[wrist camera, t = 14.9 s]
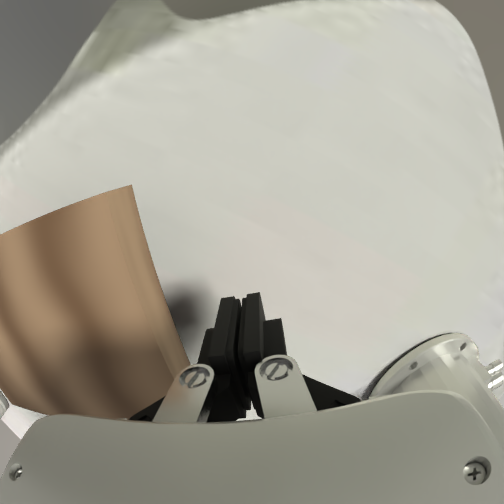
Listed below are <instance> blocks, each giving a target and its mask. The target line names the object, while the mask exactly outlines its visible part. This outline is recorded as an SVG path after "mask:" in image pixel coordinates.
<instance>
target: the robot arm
mask: <svg viewBox="0 0 504 504" xmlns="http://www.w3.org/2000/svg"><path fill="white" fill-rule="evenodd" d="M502 368H503V365H502V362H501V360H496V361H494V362H492V363H491V364H489V365H488V366H486V367H485V366H483V365H482V364H481V363H480V361H479V351H478V347H477V346H476V344H475V343H474V342H473V341H472V340H471V339H470V338H469V337H468V336H467V335H464V334H461V333H451V334H446V335H442V336H439V337H437V338H434V339H431V340H429V341H427V342H426V343H424V344H422V345H420V346H418V347H417V348H415V349H414V350H412V351H411V352H409V353H408V354H406V355H405V356H404V357H403V358H401V359H400V360H399V361H398V362H397V363H395V364H394V365H393V366H392V367H391V368H390V369H389V370H388V371H387V372H386V373H385V375H384V376H383V377H382V378H381V379H380V380H379V382H378V383H377V385H376V386H375V388H374V389H373V391H372V393H371V395H370V397H369V400H360V399H359V398H357V397H355V396H353V395H351V394H348V393H346V392H343V391H340V390H338V389H336V388H333V387H331V386H328V385H326V384H323V383H321V382H319V381H316V380H314V379H312V378H309V377H307V376H305V375H303V374H301V371H300V369H299V366H298V364H297V362H296V361H295V359H293V358H292V357H290V356H287V352H286V345H285V338H284V332H283V326H282V320H281V318H280V319H274V320H267V321H266V320H265V315H264V310H263V306H262V301H261V296H260V292H258V293H252V294H247V298H243V299H242V307H241V303H240V300H239V299H235V297H234V296H233V297H226V298H221V301H220V306H219V310H218V314H217V318H216V323H215V327H214V328H210V329H207V330H206V332H205V336H204V340H203V344H202V348H201V351H200V355H199V359H198V363H197V364H194V365H190V366H188V367H186V368H184V369H182V370H181V371H180V372H179V373H178V374H177V376H176V377H175V379H174V381H173V383H172V385H171V387H170V389H169V391H168V392H167V394H166V396H164V397H163V398H161V399H159V400H158V401H156V402H155V403H153V404H151V405H150V406H148V407H146V408H145V409H143V410H141V411H139V412H138V413H136V414H134V415H133V416H132V417H130V418H129V420H127V419H126V418H120V419H113V418H104V417H96V416H87V415H79V414H56V415H50V416H46V417H43V418H40V419H38V420H37V421H36V422H34V423H33V424H32V426H31V427H30V428H29V429H28V431H27V432H26V433H25V435H24V436H23V438H22V439H21V441H20V443H19V444H18V446H17V448H16V449H15V451H14V453H13V455H12V457H11V458H10V460H9V462H8V464H7V466H6V468H5V471H4V472H3V474H2V477H1V479H0V504H504V408H503V407H502V405H501V404H500V402H499V401H498V399H497V398H496V397H495V395H494V394H493V392H492V391H493V390H495V389H496V388H498V387H500V386H501V385H502V384H503V380H504V379H503V374H502V373H501V370H502ZM251 401H252V404H253V407H254V409H256V412H257V415H258V416H259V417H261V418H262V419H256V420H245V421H236V420H237V419H239V418H246V410H251Z"/></svg>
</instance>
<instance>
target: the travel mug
mask: <svg viewBox="0 0 504 504" xmlns="http://www.w3.org/2000/svg"><path fill="white" fill-rule="evenodd" d="M8 408H9V404H8V402H7V400H6V398H5V397H4V395H3V394H2V393H1V392H0V419H1V417H2V416H3V415H4V412H6V410H7V409H8Z"/></svg>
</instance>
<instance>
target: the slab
mask: <svg viewBox="0 0 504 504" xmlns="http://www.w3.org/2000/svg"><path fill="white" fill-rule="evenodd" d="M190 365H191V364H190V362H189V360H188V357H187V355H186V352H185V350H184V347H183V345H182V342H181V340H180V337H179V335H178V332H177V330H176V327H175V324H174V322H173V319H172V316H171V314H170V311H169V308H168V306H167V303H166V300H165V297H164V294H163V291H162V288H161V285H160V282H159V279H158V276H157V273H156V270H155V267H154V264H153V261H152V258H151V254H150V251H149V248H148V244H147V241H146V238H145V234H144V231H143V227H142V223H141V220H140V216H139V212H138V208H137V204H136V201H135V196H134V192H133V188H132V185H129V186H125V187H122V188H118V189H115V190H112V191H108V192H105V193H102V194H99V195H96V196H93V197H91V198H88V199H85V200H82V201H79V202H77V203H74V204H71V205H69V206H66V207H63V208H61V209H58V210H56V211H53V212H51V213H48V214H46V215H43V216H41V217H39V218H36V219H34V220H32V221H29V222H27V223H25V224H23V225H20V226H18V227H16V228H14V229H12V230H9V231H7V232H5V233H3V234H1V235H0V389H1V390H2V391H3V393H4V394H5V396H6V397H7V398H8V400H9V401H10V402H11V404H13V405H16V406H19V407H22V408H25V409H28V410H32V411H35V412H38V413H42V414H46V415H56V414H79V415H87V416H96V417H104V418H113V419H120V418H126V419H127V420H129V418H130V417H132V416H133V415H134V414H136V413H138V412H139V411H141V410H143V409H145V408H146V407H148V406H150V405H151V404H153V403H155V402H156V401H158V400H159V399H161V398H163V397H164V396H166V394H167V392H168V391H169V389H170V387H171V385H172V383H173V381H174V379H175V377H176V376H177V374H178V373H179V372H180V371H181V370H182V369H184V368H186V367H188V366H190Z"/></svg>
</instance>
